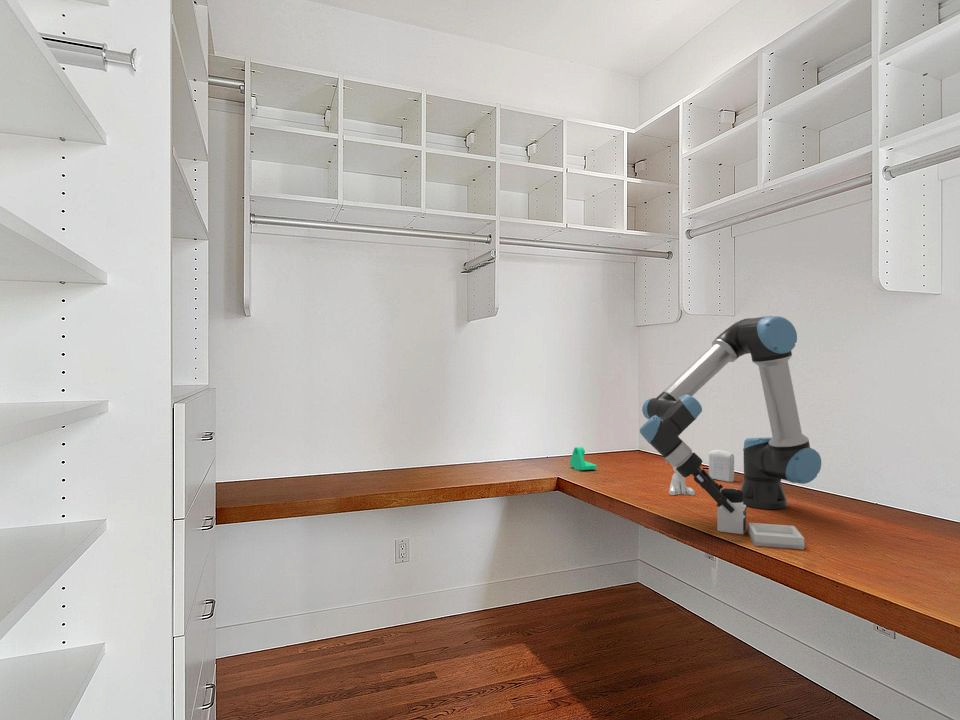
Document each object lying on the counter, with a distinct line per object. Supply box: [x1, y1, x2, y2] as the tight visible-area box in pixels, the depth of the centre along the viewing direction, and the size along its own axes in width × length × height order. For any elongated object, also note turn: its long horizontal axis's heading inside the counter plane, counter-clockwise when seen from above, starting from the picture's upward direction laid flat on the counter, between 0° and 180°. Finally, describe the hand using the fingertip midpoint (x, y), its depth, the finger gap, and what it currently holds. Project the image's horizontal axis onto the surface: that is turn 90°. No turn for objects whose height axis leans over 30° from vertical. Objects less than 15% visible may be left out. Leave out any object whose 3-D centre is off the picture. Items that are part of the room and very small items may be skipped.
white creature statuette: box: [668, 466, 696, 496], centre depth 222 cm, size 10×9×12 cm
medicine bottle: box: [716, 487, 747, 535], centre depth 174 cm, size 7×7×12 cm
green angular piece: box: [569, 446, 598, 471], centre depth 271 cm, size 12×8×10 cm, turn 19°
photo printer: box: [708, 449, 735, 483], centre depth 245 cm, size 10×4×12 cm, turn 38°
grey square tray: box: [747, 522, 805, 550], centre depth 163 cm, size 12×12×3 cm
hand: (738, 513), depth 173 cm, fingers open, 13 cm apart
